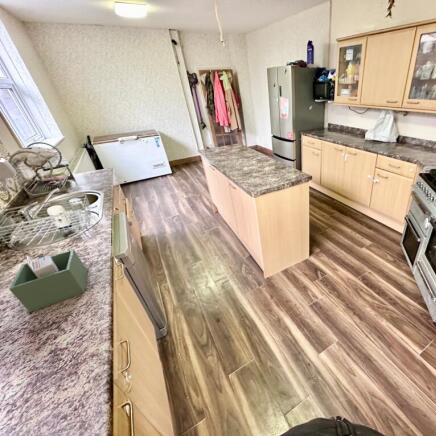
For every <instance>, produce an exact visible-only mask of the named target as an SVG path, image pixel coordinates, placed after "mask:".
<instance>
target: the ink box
mask: <svg viewBox="0 0 436 436" xmlns="http://www.w3.org/2000/svg"><path fill="white" fill-rule="evenodd" d="M44 256H45V257H43V258H40V259H39V258H38V259H34V260H31V259H30V257H29V256H28V255H27V254H26V255H25V257H26V263H28V266H29V267H30V268H31V270H32V271H33V272H34V273H35V275H36V276H37V277H38V278H41V277H44V276H47V275H50V274H53V273H56V272H60V270H59V269H58V267H57V266H56V264H55V263H54V262H53V260H52V259H51V257H50V256H51V255H44Z"/></svg>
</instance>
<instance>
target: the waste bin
mask: <svg viewBox="0 0 436 436" xmlns="http://www.w3.org/2000/svg"><path fill="white" fill-rule="evenodd" d="M49 256H50V257H51V259H52V260H53V262H54V263H55V264H56V266H57V267H58V269H59V270H60V272H56V273H53V274H50V275H47V276H44V277H41V278H38V277H37V276H36V275H35V273H34V272H33V271H32V270H31V268H30V267H29V266H28V263H27V262H26V263H23V264H21V266H20V268H19V270H18V272H17V273H16V275H15V277H14V279H13V281H12V283H11V285H10V287H9V291H10V292H11V293H12V294H13V296H15V298H16V299H17V300H18V301H19V302H20V303H21V304H22V305H23V306H24V308H25V309H26V310H27V311H28V312H29V313H32V312H35V311H37V310H40V309H42V308H45V307H48V306H51V305H53V304H57V303H59V302H62V301H64V300H67V299H70V298H72V297H75V296H77V295H81V294H83V293H85V288H86V283H87V282H86V281H87V275H88V269H87V268H86V266H85V265H84V263H83V261H82V260H81V257H80V256H79V255H78V253H77V252H76V250H75V249H74V248H73V249H70V250H66V251H63V252H60V253H56V254H53V255H49Z"/></svg>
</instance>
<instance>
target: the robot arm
mask: <svg viewBox="0 0 436 436" xmlns="http://www.w3.org/2000/svg"><path fill="white" fill-rule="evenodd" d="M17 174H18V173H17V171H16V169H15V168H14V166H12V164H11V163H10V162H9V161H8V160H7V159H5V158H3V157H2V153H0V183H2V185H1V186H0V190H1V191H2V192H8V191H9V190H10V188H9V187H8V179H13V178H15V177H16V176H17Z"/></svg>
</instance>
